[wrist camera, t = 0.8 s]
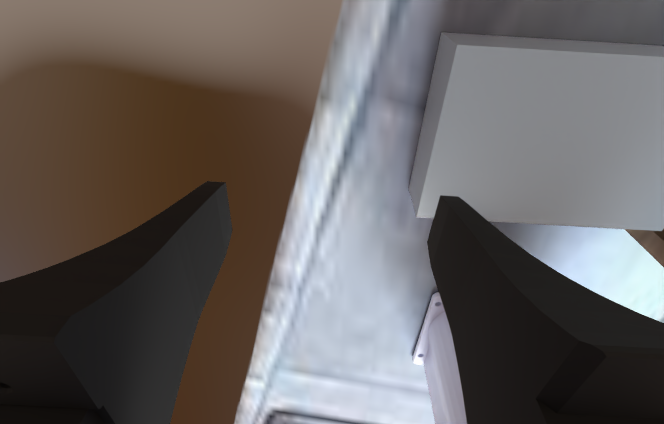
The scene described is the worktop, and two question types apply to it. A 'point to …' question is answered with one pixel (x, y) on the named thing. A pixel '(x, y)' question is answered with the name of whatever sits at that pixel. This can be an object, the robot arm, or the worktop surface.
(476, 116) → the flat grey cuboid
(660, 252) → the overhang bridge
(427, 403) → the worktop surface
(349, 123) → the worktop surface
